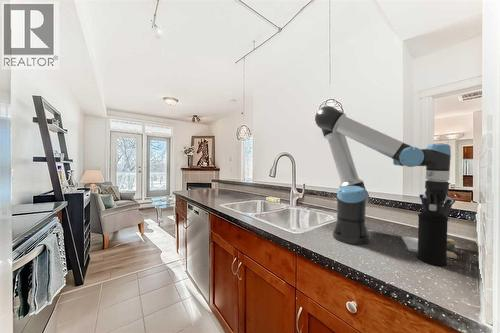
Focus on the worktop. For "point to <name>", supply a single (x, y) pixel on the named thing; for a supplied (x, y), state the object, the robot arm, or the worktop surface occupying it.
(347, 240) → the robot arm
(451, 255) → the door leaf
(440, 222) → the aerosol can
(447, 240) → the brass swing stop
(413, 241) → the jamb plate
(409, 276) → the worktop surface
